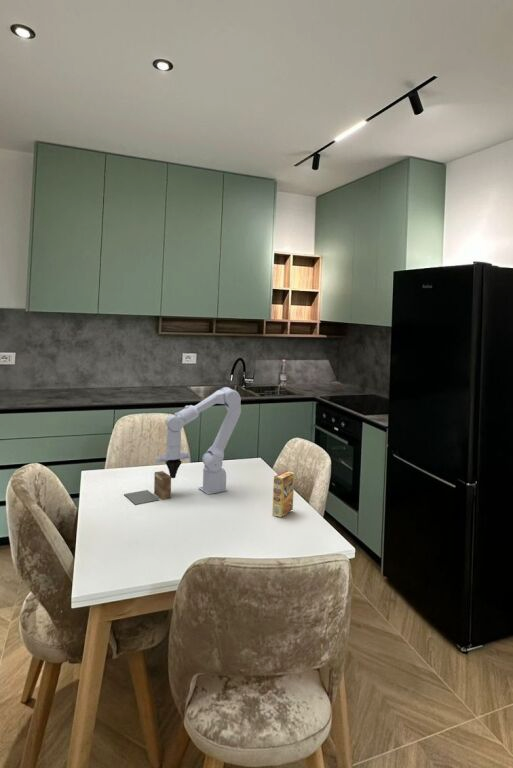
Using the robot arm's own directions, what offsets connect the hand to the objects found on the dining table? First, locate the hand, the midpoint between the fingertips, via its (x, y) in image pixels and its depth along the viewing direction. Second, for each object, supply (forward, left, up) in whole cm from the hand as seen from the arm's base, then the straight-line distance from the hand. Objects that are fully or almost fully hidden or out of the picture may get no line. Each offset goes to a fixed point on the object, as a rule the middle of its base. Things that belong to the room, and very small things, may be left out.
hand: (172, 477), depth 195 cm
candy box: (-27, +38, -7) cm, 47 cm away
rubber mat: (+12, -2, -7) cm, 14 cm away
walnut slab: (+4, 0, -7) cm, 8 cm away
